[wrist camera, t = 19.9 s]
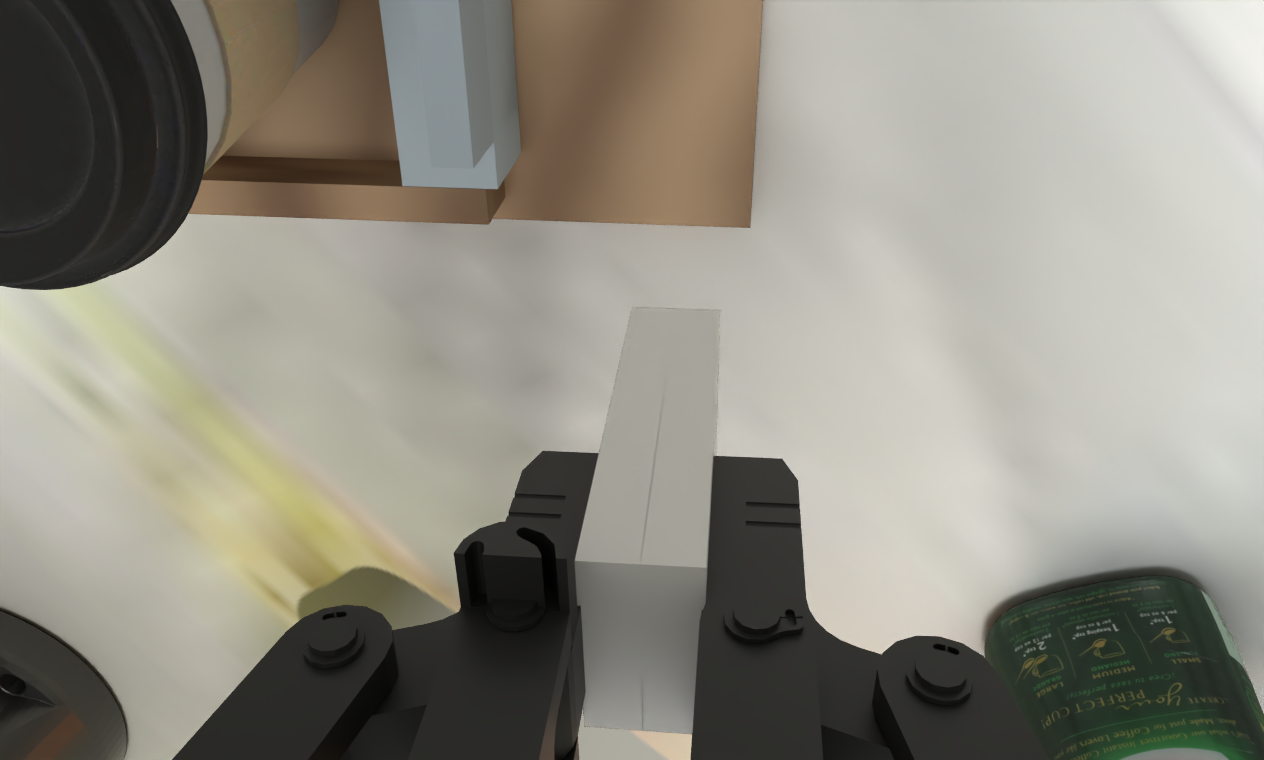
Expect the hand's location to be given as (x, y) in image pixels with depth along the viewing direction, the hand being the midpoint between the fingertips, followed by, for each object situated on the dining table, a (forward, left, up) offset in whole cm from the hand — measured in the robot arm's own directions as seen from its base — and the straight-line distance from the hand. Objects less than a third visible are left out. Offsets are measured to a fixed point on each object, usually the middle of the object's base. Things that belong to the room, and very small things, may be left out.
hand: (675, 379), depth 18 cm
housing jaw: (-8, +4, -17) cm, 20 cm away
